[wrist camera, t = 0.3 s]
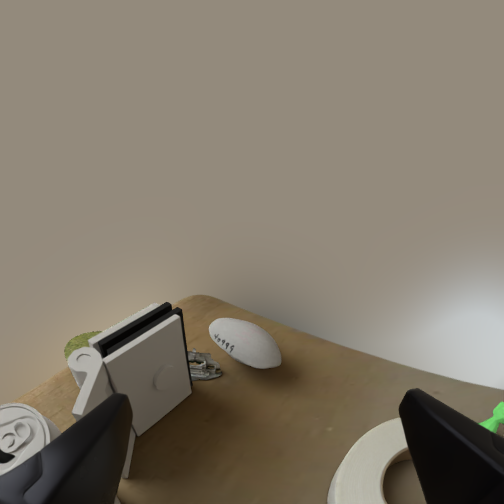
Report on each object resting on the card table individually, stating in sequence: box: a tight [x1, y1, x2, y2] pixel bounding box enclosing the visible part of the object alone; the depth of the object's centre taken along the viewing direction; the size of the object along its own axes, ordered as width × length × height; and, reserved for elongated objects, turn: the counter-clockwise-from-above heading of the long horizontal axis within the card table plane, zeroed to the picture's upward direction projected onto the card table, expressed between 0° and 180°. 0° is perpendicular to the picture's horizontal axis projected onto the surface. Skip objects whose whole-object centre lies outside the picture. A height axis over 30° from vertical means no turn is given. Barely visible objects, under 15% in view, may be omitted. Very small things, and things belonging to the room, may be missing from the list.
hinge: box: [68, 302, 193, 478], centre depth 21 cm, size 14×5×10 cm, turn 160°
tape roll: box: [327, 418, 412, 504], centre depth 14 cm, size 16×15×3 cm
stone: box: [209, 318, 282, 369], centre depth 31 cm, size 10×5×5 cm, turn 49°
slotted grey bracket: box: [187, 348, 222, 380], centre depth 30 cm, size 6×2×3 cm, turn 83°
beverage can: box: [0, 403, 120, 504], centre depth 10 cm, size 6×6×12 cm
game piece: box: [478, 402, 504, 433], centre depth 16 cm, size 4×4×6 cm
